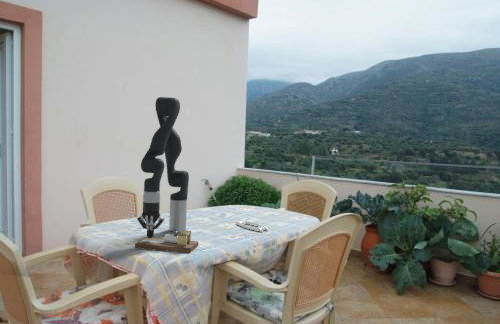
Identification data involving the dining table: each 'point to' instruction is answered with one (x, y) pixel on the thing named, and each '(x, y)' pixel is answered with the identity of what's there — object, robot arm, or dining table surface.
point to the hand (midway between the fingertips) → (150, 237)
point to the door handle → (251, 227)
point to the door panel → (165, 245)
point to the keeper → (184, 238)
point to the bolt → (171, 237)
